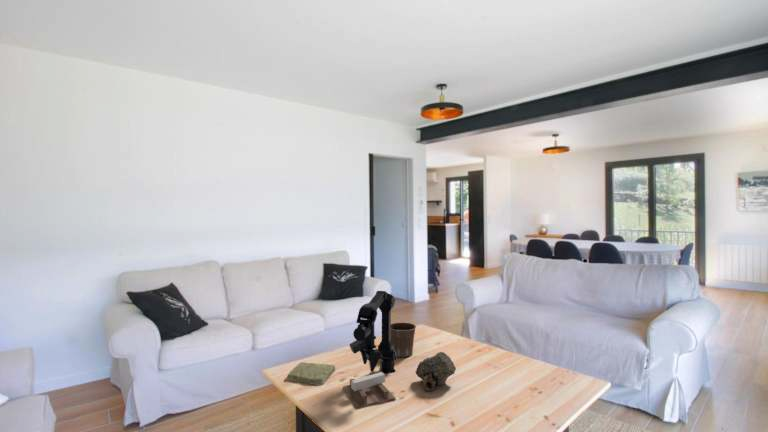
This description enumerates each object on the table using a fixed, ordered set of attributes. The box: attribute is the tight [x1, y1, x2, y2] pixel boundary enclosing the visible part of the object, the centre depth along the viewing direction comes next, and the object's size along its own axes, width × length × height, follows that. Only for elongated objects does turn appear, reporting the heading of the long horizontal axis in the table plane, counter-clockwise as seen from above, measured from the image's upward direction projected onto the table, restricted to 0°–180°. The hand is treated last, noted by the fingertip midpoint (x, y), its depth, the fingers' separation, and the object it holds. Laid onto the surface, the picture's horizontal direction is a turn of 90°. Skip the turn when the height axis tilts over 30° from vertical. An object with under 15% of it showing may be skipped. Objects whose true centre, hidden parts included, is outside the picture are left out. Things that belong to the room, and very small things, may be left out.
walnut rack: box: [342, 378, 397, 409], centre depth 177 cm, size 18×20×4 cm
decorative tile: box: [286, 361, 336, 386], centre depth 197 cm, size 19×20×4 cm
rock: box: [415, 351, 457, 392], centre depth 185 cm, size 18×14×15 cm
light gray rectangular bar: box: [351, 371, 386, 391], centre depth 177 cm, size 16×3×4 cm, turn 123°
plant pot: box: [391, 322, 417, 358], centre depth 225 cm, size 16×16×16 cm
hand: (368, 367), depth 177 cm, fingers open, 9 cm apart
